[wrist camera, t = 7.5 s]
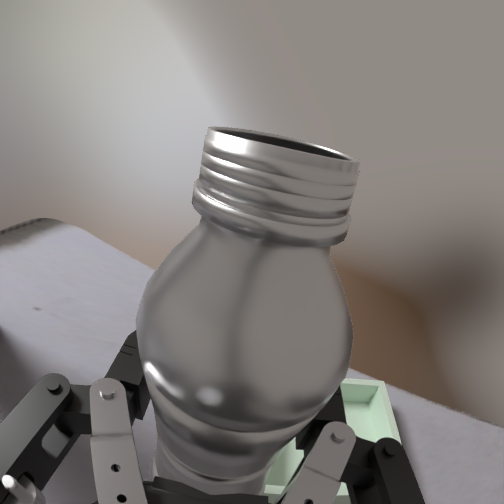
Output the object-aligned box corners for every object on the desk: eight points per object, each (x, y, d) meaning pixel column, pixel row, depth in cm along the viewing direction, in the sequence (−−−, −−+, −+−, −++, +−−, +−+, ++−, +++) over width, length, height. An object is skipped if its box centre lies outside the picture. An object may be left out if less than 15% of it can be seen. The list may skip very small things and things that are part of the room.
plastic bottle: (206, 436, 20) (265, 128, 11) (276, 498, 16) (445, 187, 7) (132, 478, 15) (97, 116, 7) (202, 554, 11) (350, 193, 3)
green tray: (243, 505, 20) (252, 491, 18) (254, 389, 33) (261, 367, 31) (391, 503, 20) (412, 488, 19) (369, 401, 33) (383, 381, 31)
